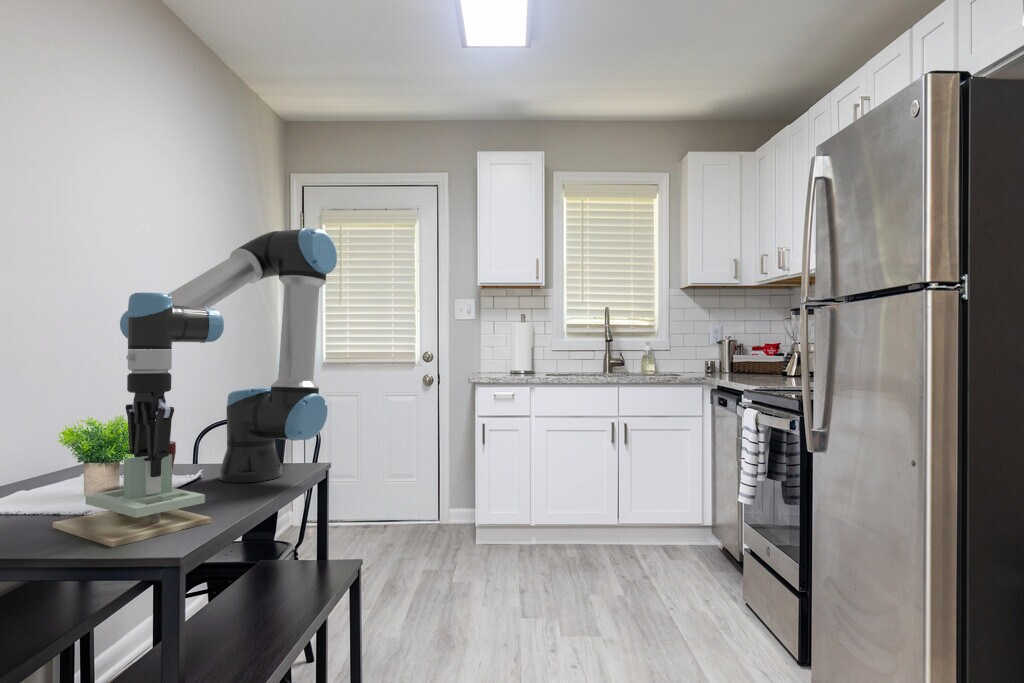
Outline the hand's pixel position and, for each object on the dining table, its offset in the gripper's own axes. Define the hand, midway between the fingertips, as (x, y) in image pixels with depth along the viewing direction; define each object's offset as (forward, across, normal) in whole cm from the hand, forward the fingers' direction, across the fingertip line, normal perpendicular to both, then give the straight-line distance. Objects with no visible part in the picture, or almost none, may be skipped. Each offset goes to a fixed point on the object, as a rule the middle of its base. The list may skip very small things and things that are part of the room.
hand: (148, 492), depth 124 cm
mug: (+6, -32, +19) cm, 38 cm away
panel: (+2, 0, -1) cm, 2 cm away
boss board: (+6, 0, -3) cm, 6 cm away
